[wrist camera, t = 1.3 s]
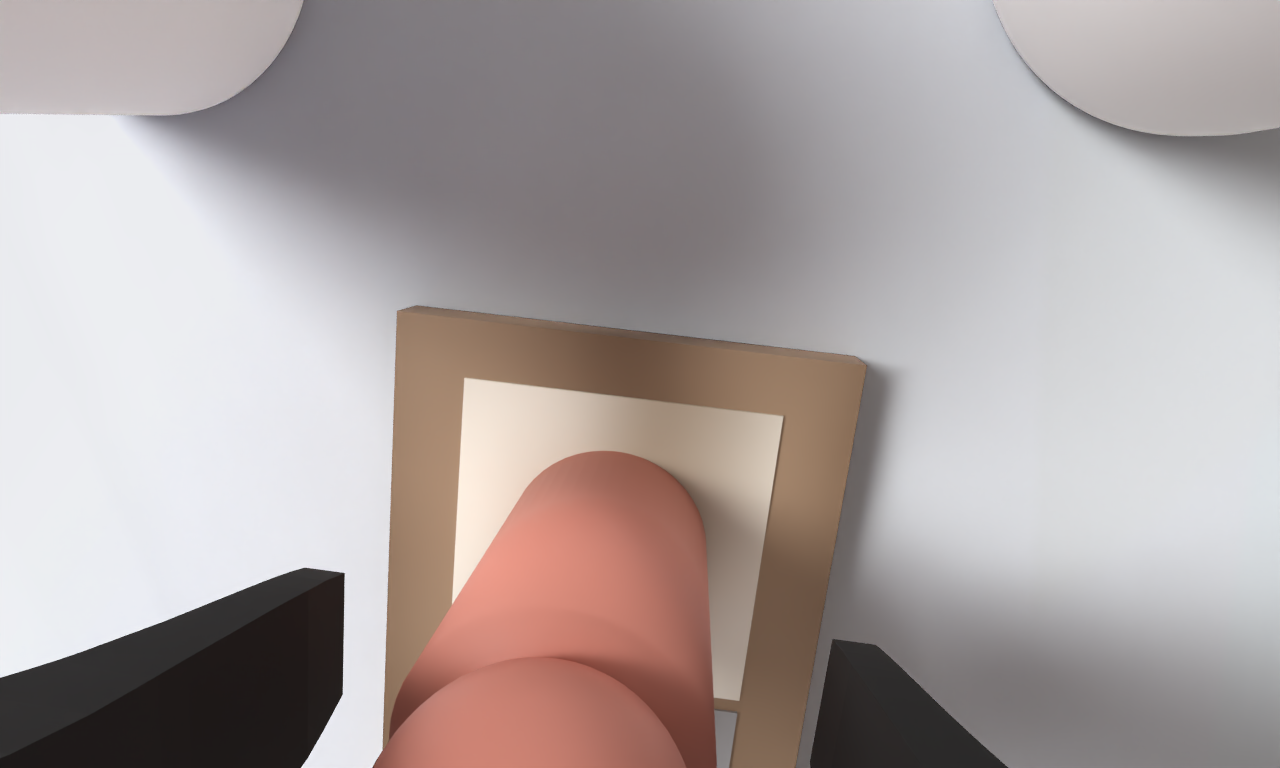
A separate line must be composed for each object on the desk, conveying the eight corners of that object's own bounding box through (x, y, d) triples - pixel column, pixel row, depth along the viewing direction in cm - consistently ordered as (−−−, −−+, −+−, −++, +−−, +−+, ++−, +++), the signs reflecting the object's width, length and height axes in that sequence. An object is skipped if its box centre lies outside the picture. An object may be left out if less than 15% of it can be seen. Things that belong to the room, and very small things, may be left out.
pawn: (503, 621, 15) (242, 1168, 6) (516, 438, 14) (234, 778, 5) (693, 647, 15) (696, 1246, 6) (718, 463, 14) (764, 855, 5)
